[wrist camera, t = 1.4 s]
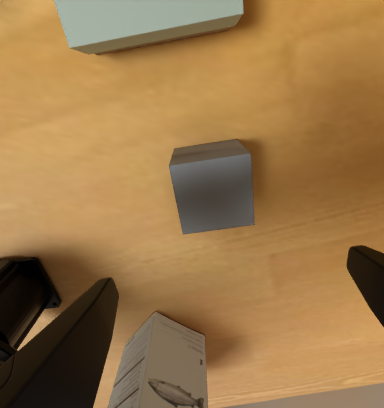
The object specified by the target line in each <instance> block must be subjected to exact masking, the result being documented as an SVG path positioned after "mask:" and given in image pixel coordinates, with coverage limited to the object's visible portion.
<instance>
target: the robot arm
mask: <svg viewBox="0 0 384 408" xmlns="http://www.w3.org/2000/svg"><path fill="white" fill-rule="evenodd" d="M347 269H348V271H349V273H350V275H351V277H352V278H353V280H354V282H355V283H356V285H357V287H358V289H359V290H360V292H361V294H362V295H363V297H364V299H365V301H366V302H367V304H368V306H369V307H370V309H371V310H372V312H373V313H374V315H375V316H376V317H377V319H378V320H379V322H380V323H381V324H382V326H383V327H384V253H381V252H379V251H376V250H374V249H371V248H369V247H366V246H363V245H359V246H352V247H350V249H349V252H348V259H347ZM118 299H119V294H118V290H117V288H116V285H115V283H114V280H113V279H112V278H111V277H107V278H101V279H100V280H98V281H97V282H96V283H95V284H94V285H93V286H92V287H91V288H89V289H88V290H87V291H86V292H85V293H84V294H83V295H81V296H80V297H79V298H78V299H77V300H76V301H75V302H73V303H72V304H71V305H70V306H69V307H68V308H67V309H66V310H64V311H63V312H62V313H61V314H60V315H59V316H58V317H56V318H55V319H54V320H53V321H52V322H51V323H50V324H48V325H47V326H46V327H45V328H44V329H43V330H42V331H41V332H39V333H38V334H37V335H36V336H35V337H34V338H33V339H31V340H30V341H29V342H28V343H27V344H26V345H25V346H23V347H22V348H21V349H20V350H19V351H18V350H17V349H18V347H19V346H20V344H21V343H22V341H23V340H24V339H25V337H26V336H27V334H28V333H29V331H30V330H31V328H32V327H33V325H34V324H35V322H36V321H37V319H38V318H39V317H40V315H41V314H42V312H43V311H44V309H47V308H55V307H59V306H60V304H61V299H60V297H59V296H58V294H57V292H56V290H55V288H54V286H53V285H52V283H51V281H50V279H49V277H48V275H47V274H46V272H45V270H44V268H43V266H42V264H41V263H40V261H39V260H38V259H37V258H35V257H32V258H24V259H17V260H3V261H0V408H93V405H94V402H95V398H96V394H97V391H98V387H99V384H100V380H101V376H102V373H103V369H104V365H105V362H106V358H107V354H108V351H109V347H110V343H111V339H112V335H113V329H114V323H115V317H116V311H117V305H118Z"/></svg>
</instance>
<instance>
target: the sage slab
mask: <svg viewBox="0 0 384 408" xmlns="http://www.w3.org/2000/svg"><path fill="white" fill-rule="evenodd" d="M54 2H55V5H56V8H57V11H58V14H59V17H60V20H61V23H62V26H63V29H64V32H65V35H66V38H67V42H68V45H69V48H71V49H74V50H77V51H80V52H83V53H86V54H94V53H99V52H105V51H110V50H115V49H120V48H125V47H130V46H135V45H140V44H145V43H151V42H156V41H161V40H166V39H171V38H176V37H181V36H186V35H192V34H197V33H202V32H207V31H212V30H217V29H222V28H227V27H232V26H236V24H237V22H238V21H239V19H240V18H241V16H242V15H243V0H54Z"/></svg>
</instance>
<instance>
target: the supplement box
mask: <svg viewBox="0 0 384 408" xmlns="http://www.w3.org/2000/svg"><path fill="white" fill-rule="evenodd" d="M108 408H208V394H207V371H206V350H205V336H204V335H202V334H200V333H197V332H195V331H193V330H191V329H189V328H187V327H185V326H183V325H181V324H179V323H177V322H175V321H173V320H171V319H169V318H167V317H165V316H163V315H161V314H159V313H158V312H154V313H153V314H152V315H151V316H150V318H149V319H148V320H147V321H146V322H145V323H144V324H143V325H142V326H141V327H140V328H139V329H138V330H137V331H136V333H135V334H134V335H133V336H132V337H131V338H130V339H129V340H128V341H127V342H126V344H125V347H124V351H123V354H122V358H121V362H120V365H119V368H118V372H117V375H116V379H115V382H114V386H113V390H112V393H111V397H110V401H109V404H108Z"/></svg>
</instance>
